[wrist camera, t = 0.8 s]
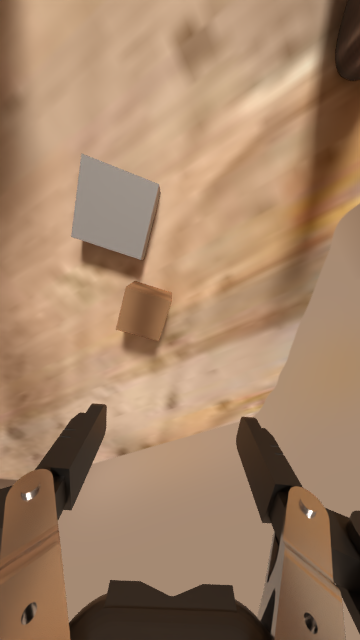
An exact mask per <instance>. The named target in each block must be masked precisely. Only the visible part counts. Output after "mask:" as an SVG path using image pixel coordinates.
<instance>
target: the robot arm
mask: <svg viewBox="0 0 360 640" xmlns="http://www.w3.org/2000/svg"><path fill="white" fill-rule="evenodd" d="M106 410H107V407H106V405H105V404H91V406H90V407H89V409H88V410H87V412H86V413H79V414H78V415H76V416H75V417H74V418H73V419H71V421H70V422H69V423H68V425H67V426H66V428H65V430H63V432H62V433H61V434H60V437H58V439H57V440H56V441H55V443H54V444H53V446H52V447H51V448H50V450H49V451H48V453H47V454H46V455H45V457H44V458H43V460H42V461H41V462H40V464H39V465H38V467H37V468H36V469H35V470H34V471H31V472H29V473H27V474H26V475H24V476H23V477H21V478H20V479H19V480H18V481H17V482H16V483H15V484H14V485H12V486H10V487H7V488H3V489H0V640H346V636H345V625H344V614H343V604H342V598H343V600H344V602H345V604H346V606H347V608H348V611H349V613H350V615H351V617H352V619H353V621H354V623H355V625H356V627H357V629H358V632H359V633H360V511H354V512H352V514H351V516H350V518H348V517H345V516H343V515H341V514H338V513H336V512H334V511H331V510H329V509H327V508H325V507H324V506H323V504H322V503H321V502H320V500H319V499H318V498H317V497H316V496H315V495H314V494H312V493H311V492H310V491H308V490H306V489H304V488H303V487H302V485H301V483H300V482H299V480H298V478H297V477H296V475H295V473H294V472H293V470H292V468H291V466H290V465H289V463H288V461H287V459H286V458H285V456H284V455H283V453H282V451H281V449H280V448H279V447H278V444H277V442H276V441H275V439H274V437H273V436H272V435H271V434H270V433H269V432H268V431H267V430H266V429H265V428H261V426H260V425H259V423H258V421H257V419H255V418H251V417H242V418H241V420H240V424H239V428H238V433H237V438H236V445H237V449H238V452H239V455H240V458H241V461H242V464H243V467H244V470H245V473H246V476H247V479H248V482H249V485H250V488H251V491H252V494H253V497H254V500H255V503H256V505H257V508H258V511H259V514H260V517H261V520H262V522H263V523H272V526H273V529H274V534H273V539H272V544H271V550H270V556H269V563H268V568H267V574H266V580H265V587H264V591H263V595H262V599H261V603H260V607H259V611H258V616H257V617H256V616H255V615H254V614H253V613H252V612H251V611H250V610H249V609H248V608H247V607H246V606H244V605H243V604H241V603H240V602H239V601H237V600H235V598H234V593H233V587H232V585H210V584H202V585H200V586H198V587H195V588H193V589H190V590H188V591H186V592H184V593H181V594H179V595H176V596H168V595H166V594H164V593H163V592H160V591H159V590H157V589H155V588H153V587H151V586H149V585H146V584H145V583H143V582H141V581H140V582H139V581H117V580H110V583H109V588H108V593H107V594H105V595H102V596H100V597H98V598H97V599H95V600H94V601H92V602H91V603H89V604H88V605H87V606H86V607H84V608H83V609H82V610H81V611H80V612H79V613H78V614H77V615H76V616H75V617H74V618H73V619H72V620H71V621H70V623H69V620H68V611H67V602H66V592H65V583H64V574H63V564H62V555H61V545H60V536H59V530H58V519H59V517H60V515H61V513H62V511H63V510H72V508H73V506H74V503H75V501H76V499H77V497H78V494H79V492H80V490H81V487H82V485H83V483H84V481H85V478H86V476H87V474H88V472H89V469H90V467H91V465H92V463H93V460H94V458H95V456H96V454H97V451H98V449H99V447H100V445H101V442H102V440H103V438H104V435H105V431H106ZM334 583H336V585H335V584H334Z"/></svg>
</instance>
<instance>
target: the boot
mask: <svg viewBox="0 0 360 640" xmlns="http://www.w3.org/2000/svg"><path fill="white" fill-rule="evenodd" d="M335 60H336V67H337V70H338V72H339V74H340V75H341V76H342V77H343V78H345V79H347V80H359V79H360V0H348V2H347V5H346V9H345V12H344V15H343V19H342V23H341V26H340V30H339V35H338V39H337V46H336V55H335Z"/></svg>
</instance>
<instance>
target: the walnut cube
mask: <svg viewBox="0 0 360 640" xmlns="http://www.w3.org/2000/svg"><path fill="white" fill-rule="evenodd" d="M171 302H172V293H171V292H168V291H165V290H162V289H158V288H155V287H152V286H149V285H146V284H143V283H140V282H137V281H134V282H133V283H131V284H130V285H128V286H127V287H126V289H125V293H124V298H123V302H122V306H121V310H120V314H119V319H118V323H117V327H116V330H120V331H123V332H127V333H131V334H134V335H138V336H141V337H145V338H149V339H152V340H156V341H159V339H160V336H161V333H162V330H163V327H164V324H165V321H166V317H167V314H168V311H169V308H170V305H171Z"/></svg>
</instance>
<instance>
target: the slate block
mask: <svg viewBox="0 0 360 640" xmlns="http://www.w3.org/2000/svg"><path fill="white" fill-rule="evenodd" d="M159 197H160V187H159V184H157V183H155V182H152V181H150V180H147V179H145V178H142V177H140V176H137V175H134V174H132V173H129V172H127V171H124V170H122V169H119V168H117V167H114V166H112V165H109V164H107V163H104V162H102V161H99V160H97V159H94V158H92V157H89V156H87V155H84V154H81V162H80V170H79V178H78V186H77V194H76V202H75V210H74V219H73V227H72V235H71V237H73V238H76V239H79V240H82V241H85V242H88V243H91V244H94V245H97V246H100V247H103V248H106V249H109V250H112V251H115V252H118V253H121V254H124V255H127V256H131V257H134V258H137V259H140V260H143V259H144V257H145V253H146V249H147V245H148V241H149V237H150V233H151V229H152V225H153V221H154V217H155V213H156V209H157V205H158V201H159Z"/></svg>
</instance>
